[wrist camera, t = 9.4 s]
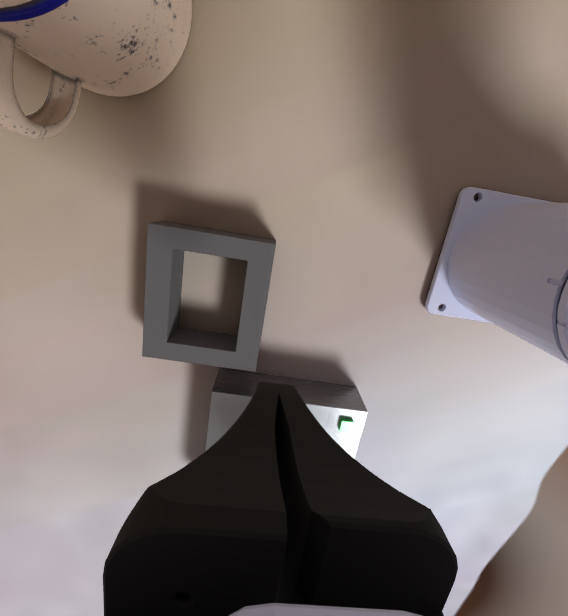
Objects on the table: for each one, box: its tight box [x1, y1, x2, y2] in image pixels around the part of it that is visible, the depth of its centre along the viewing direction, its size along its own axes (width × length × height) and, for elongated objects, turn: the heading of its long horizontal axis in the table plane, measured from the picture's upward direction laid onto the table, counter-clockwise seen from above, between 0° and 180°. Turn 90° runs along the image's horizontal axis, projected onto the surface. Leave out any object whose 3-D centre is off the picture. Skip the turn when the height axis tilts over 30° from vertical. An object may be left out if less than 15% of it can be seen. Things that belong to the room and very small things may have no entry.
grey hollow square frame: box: [142, 221, 276, 372], centre depth 20 cm, size 7×8×2 cm
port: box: [205, 369, 368, 459], centre depth 23 cm, size 10×10×3 cm
